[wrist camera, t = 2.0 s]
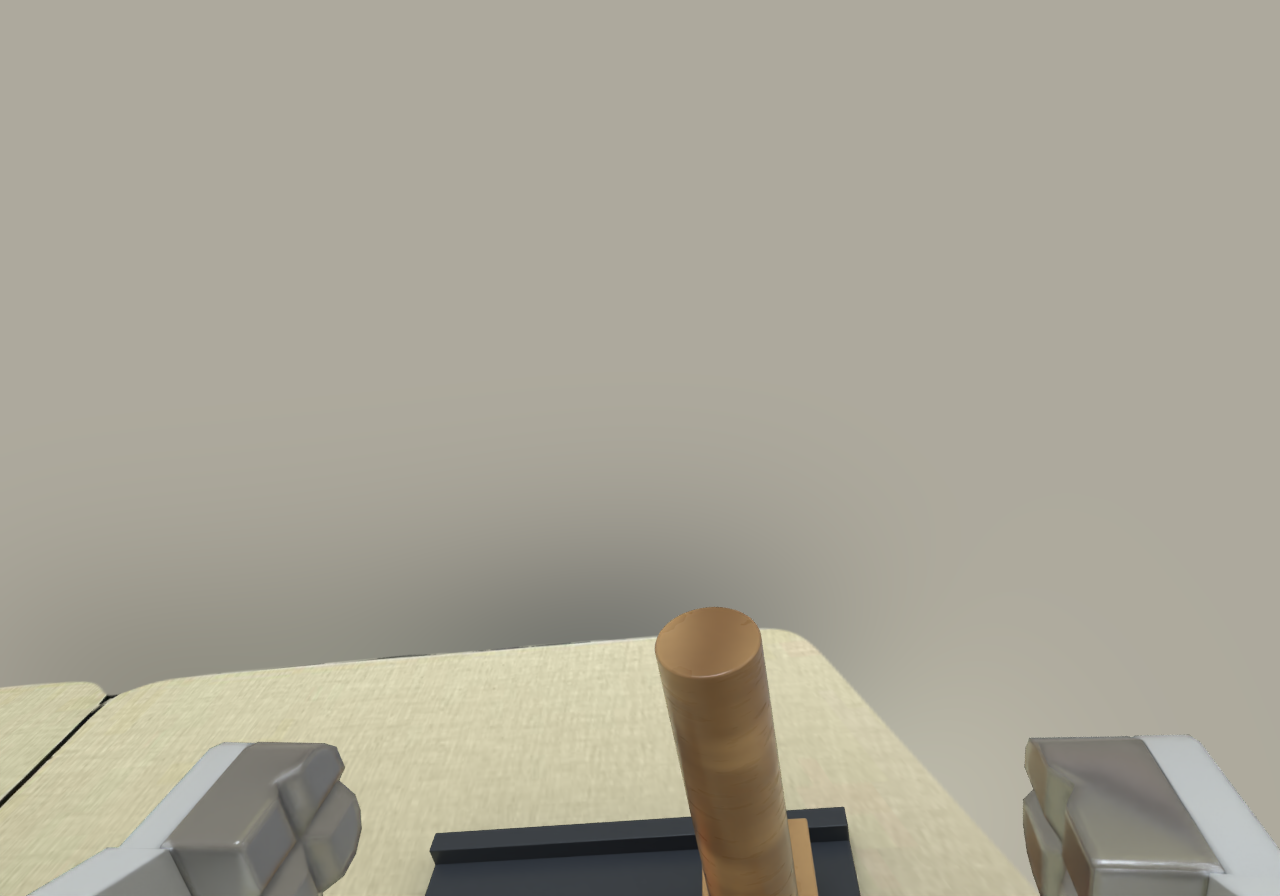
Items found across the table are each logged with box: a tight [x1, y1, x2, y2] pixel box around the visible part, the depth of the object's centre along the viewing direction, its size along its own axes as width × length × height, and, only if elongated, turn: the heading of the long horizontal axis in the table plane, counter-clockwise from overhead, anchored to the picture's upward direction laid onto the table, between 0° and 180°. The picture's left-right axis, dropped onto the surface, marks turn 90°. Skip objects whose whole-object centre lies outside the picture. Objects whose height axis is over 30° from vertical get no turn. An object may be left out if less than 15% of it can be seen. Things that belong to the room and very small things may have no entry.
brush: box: [655, 607, 818, 896], centre depth 25 cm, size 4×10×18 cm, turn 176°
